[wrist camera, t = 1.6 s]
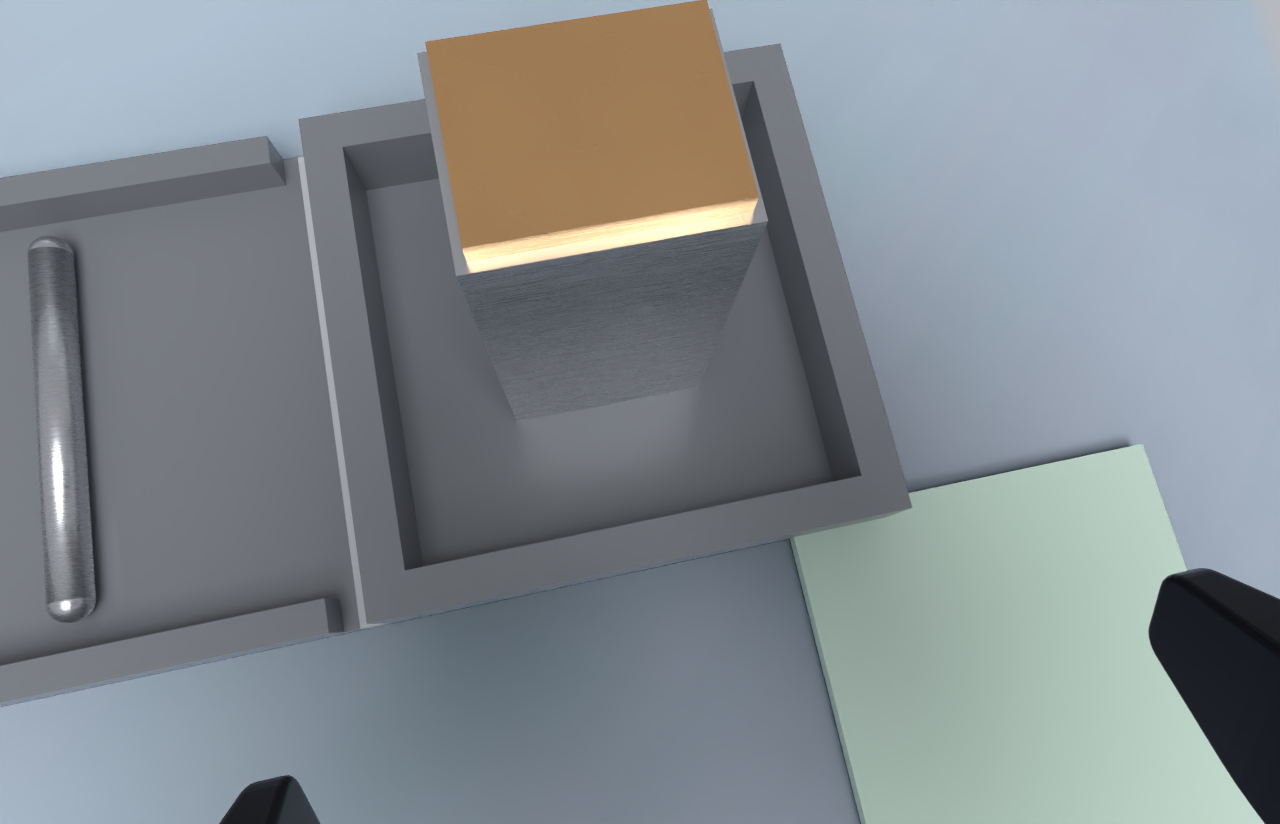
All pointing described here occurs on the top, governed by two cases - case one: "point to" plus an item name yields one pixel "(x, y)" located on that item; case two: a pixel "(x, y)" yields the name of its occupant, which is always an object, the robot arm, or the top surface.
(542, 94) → the block
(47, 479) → the rod
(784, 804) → the top surface
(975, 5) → the top surface
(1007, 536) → the mat
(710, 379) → the grey compartment tray
